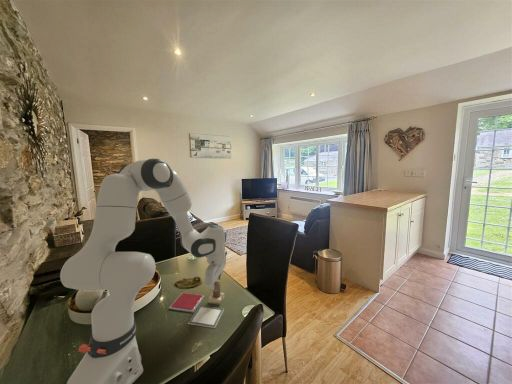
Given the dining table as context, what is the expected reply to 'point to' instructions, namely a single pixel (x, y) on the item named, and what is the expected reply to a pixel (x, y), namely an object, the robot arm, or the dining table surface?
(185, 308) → the ink pad
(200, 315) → the sheet
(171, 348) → the dining table surface
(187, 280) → the seal
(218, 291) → the stamp
